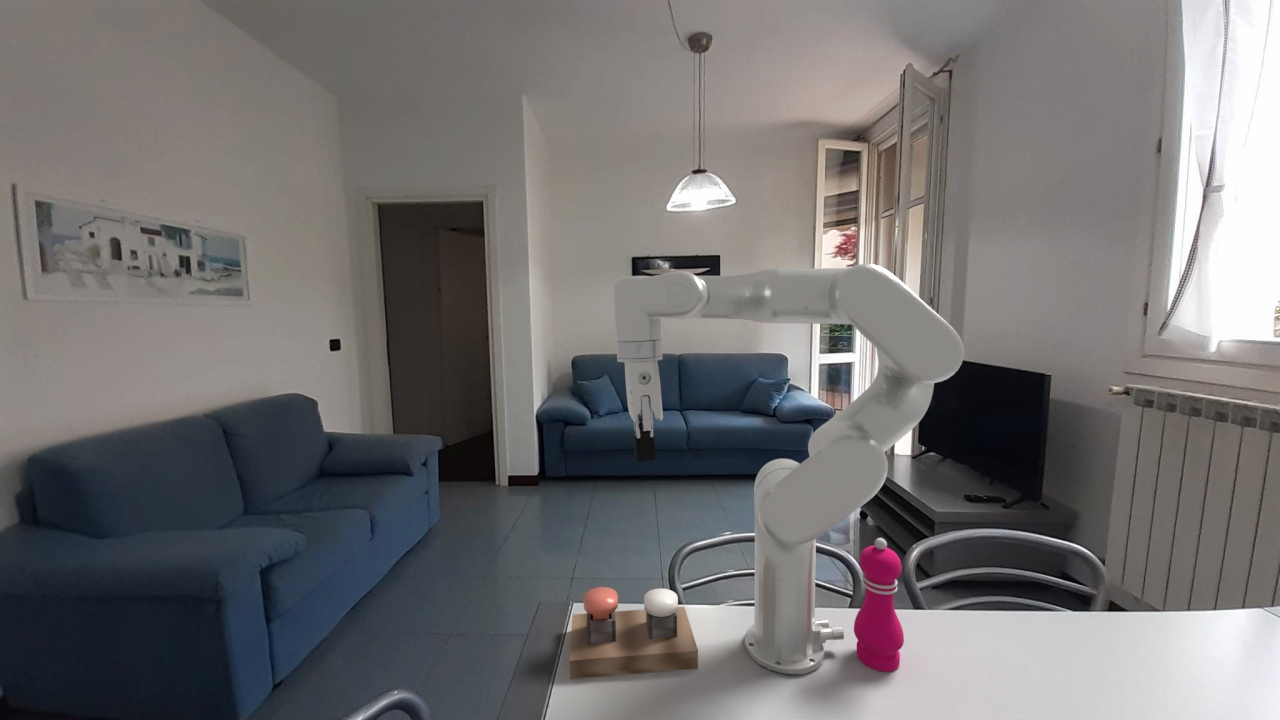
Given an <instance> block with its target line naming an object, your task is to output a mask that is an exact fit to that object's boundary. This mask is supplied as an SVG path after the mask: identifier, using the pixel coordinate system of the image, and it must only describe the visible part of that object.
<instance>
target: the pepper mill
mask: <svg viewBox="0 0 1280 720" xmlns="http://www.w3.org/2000/svg"><path fill="white" fill-rule="evenodd" d="M858 560H859V561H858V563H859V566H860V569H861V570H862V572H863V573H862V581H861V582H862V586H864V589H865V597H864V600H863V603H862V606H861V607H860V608H859V610H858V611H857V614H856V616H855V619H854V622H853V623H854V624H853V632H854V633H853V634H854V635H855V638H856V639H857V641H856V642H857V643H856V651H855V652H856V656H857V658H858V660H859V661H860V662H861V663H862V664H863V665H864V666H866V667H868V668H870V669H871V670H875V671H878V672H882V673H883V672H884V673H889V672H893V671H895V670H898V668H899V667H900V664H901V662H900V661H901V659H900V657H901V655H900V654H901V653H900V650H901V648H903V646H904V642H905V639H904V638H905V637H904V630H903V626H902V625H901V622H900V619H899V617H898V615H897V612H896V610H895V606H894V596H895V593H897V591H898V580H897V579H898V578H899V577H900V575H901V573H902V568H903V567H902V561H901V559H900V557H899V555H898V554H897V552H895V551H894V550H892V549H890V548H889V547H888V542H887V541H886V539H884V538H883V537H877V538H876V539H874V545H870V546H867V547H865V548H864V549H863V550H862V552H860V556H859V559H858Z"/></svg>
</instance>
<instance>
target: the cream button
mask: <svg viewBox="0 0 1280 720" xmlns="http://www.w3.org/2000/svg"><path fill="white" fill-rule="evenodd" d="M678 599H679V597H678V594H677V593H676V592H675V591H673V590H670V589H668V588H654V589H651V590H648V591H647V592H646V593H645V594H644V596H643V601H644V602H643V607H644V609H645V611H646V612H647V613H649V614H651V615H653V616H658V617H665V616H670V615H672V614H674V613H675V612H676V611H677V609H678V607H679V600H678Z"/></svg>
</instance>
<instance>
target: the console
mask: <svg viewBox="0 0 1280 720" xmlns="http://www.w3.org/2000/svg"><path fill="white" fill-rule="evenodd" d="M570 631H571V633H570V647H569V659H568V661H569V680H573V679H584V678H585V679H586V678H587V679H588V678H601V677H611V676H625V675H634V674H635V675H636V674H637V675H638V674H646V673H647V674H649V673H651V674H652V673H663V672H674V671H683V670H684V671H685V670H698V669H699V648H698V645H697V643H696V639H695V636H694V634H693V630H692V627H691V623H690V620H689V617H688V614H687V610H686V607H685V606H678V609H677V611H676V612H675V613H674V614H672V615H670V616H665V617H658V616H653V615H651V614H649V613H647V612H646V611H645V608H644V609H632V610H617V611H616V610H615V611H614V612H612V613H610V614H609V619H604V620H593V615H592V614H589V613H587V612H586V613H573V614H572V619H571V630H570Z"/></svg>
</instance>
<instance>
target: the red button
mask: <svg viewBox="0 0 1280 720" xmlns="http://www.w3.org/2000/svg"><path fill="white" fill-rule="evenodd" d="M618 596H619V594H618V592H617V591H616V590H615V589H613V588H612V587H608V586H607V587H606V586H599V587H593V588H591V589H588V590H587V591H586V592H585V593H584V595H583V610H584V611H585V612H586V613H589V614H592V615H593V620H604V619H609V614H610V613H612V612H614V611H616V610H617V608H618V607H619V604H618V603H619V597H618Z"/></svg>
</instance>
